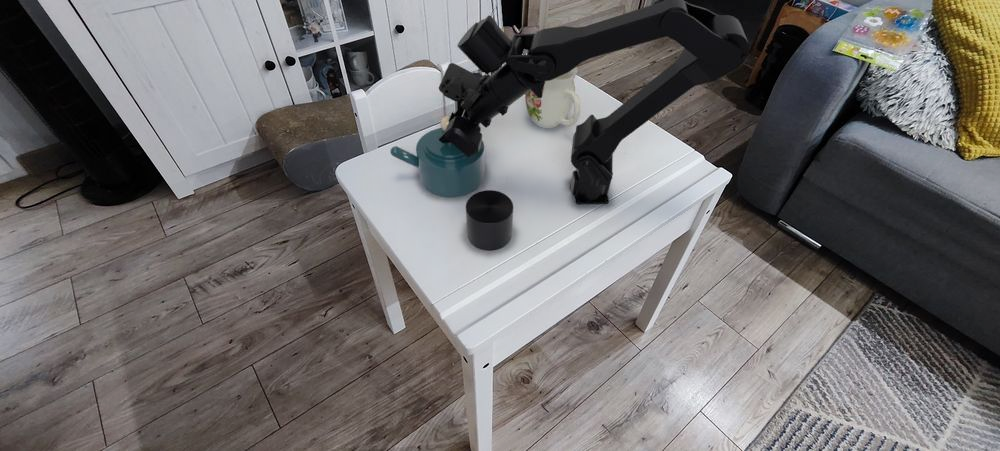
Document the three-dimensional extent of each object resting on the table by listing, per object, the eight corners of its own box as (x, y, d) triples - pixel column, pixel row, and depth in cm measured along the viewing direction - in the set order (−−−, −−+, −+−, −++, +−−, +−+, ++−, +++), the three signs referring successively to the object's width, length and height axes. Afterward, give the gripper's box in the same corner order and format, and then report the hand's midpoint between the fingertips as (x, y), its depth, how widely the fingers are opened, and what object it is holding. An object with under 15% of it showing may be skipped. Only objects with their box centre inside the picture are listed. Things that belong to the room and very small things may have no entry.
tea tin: (510, 217, 85) (511, 189, 80) (513, 250, 80) (514, 223, 74) (467, 218, 85) (465, 190, 79) (467, 251, 79) (465, 224, 74)
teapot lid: (484, 140, 87) (483, 114, 83) (453, 165, 82) (451, 139, 78) (447, 123, 91) (445, 97, 86) (415, 145, 86) (411, 119, 81)
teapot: (483, 143, 99) (483, 112, 94) (485, 196, 88) (485, 165, 82) (400, 145, 99) (394, 113, 93) (391, 198, 88) (384, 166, 82)
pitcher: (553, 150, 98) (561, 94, 88) (508, 109, 109) (510, 54, 98) (592, 134, 103) (604, 79, 92) (545, 96, 113) (551, 42, 102)
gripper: (478, 28, 79) (423, 80, 88) (453, 84, 66) (392, 138, 76) (521, 74, 84) (464, 118, 93) (505, 135, 71) (442, 179, 81)
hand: (442, 136), depth 86 cm, fingers closed on teapot lid, 3 cm apart
